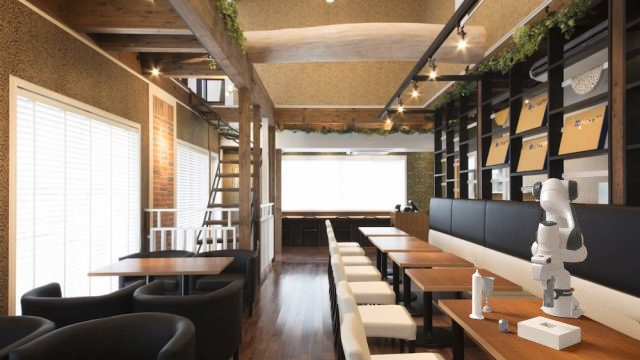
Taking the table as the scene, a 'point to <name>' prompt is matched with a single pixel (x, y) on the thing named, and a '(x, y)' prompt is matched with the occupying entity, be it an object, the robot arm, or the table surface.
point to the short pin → (503, 325)
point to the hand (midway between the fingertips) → (548, 288)
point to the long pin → (549, 294)
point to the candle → (477, 296)
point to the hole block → (549, 332)
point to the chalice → (487, 290)
